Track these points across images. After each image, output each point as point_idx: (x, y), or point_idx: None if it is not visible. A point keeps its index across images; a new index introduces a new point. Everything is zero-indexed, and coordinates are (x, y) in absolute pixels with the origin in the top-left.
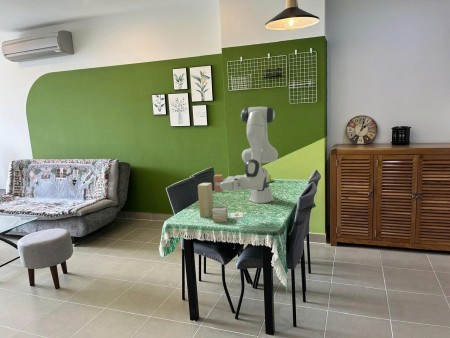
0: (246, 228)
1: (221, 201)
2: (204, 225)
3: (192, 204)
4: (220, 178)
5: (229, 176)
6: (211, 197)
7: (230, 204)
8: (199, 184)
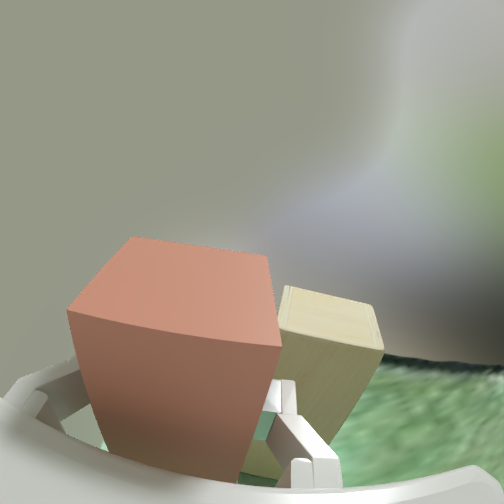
0: None
1: (473, 447)
2: (105, 449)
3: (398, 369)
4: (85, 352)
5: (480, 489)
6: (316, 428)
7: None
8: (312, 291)
